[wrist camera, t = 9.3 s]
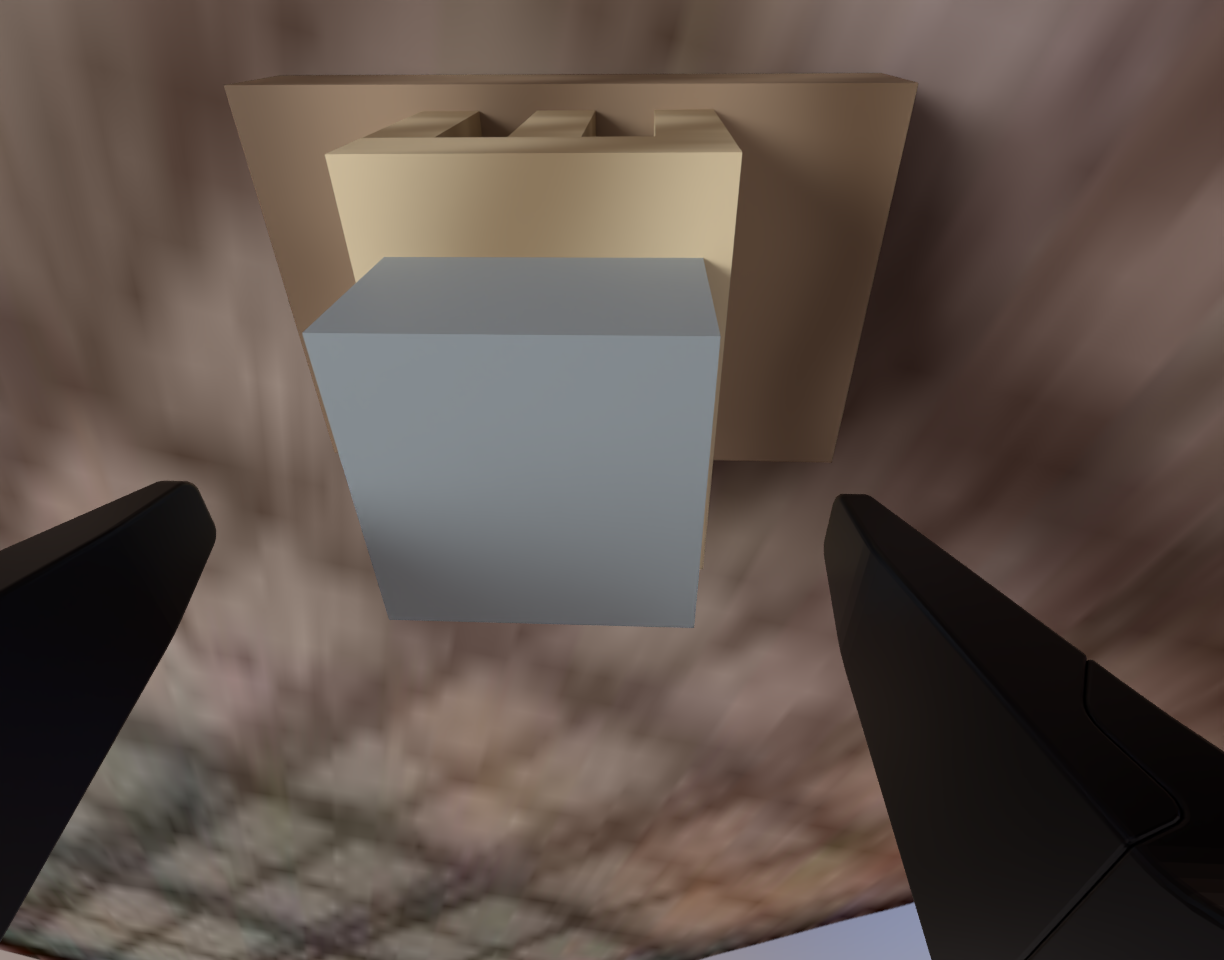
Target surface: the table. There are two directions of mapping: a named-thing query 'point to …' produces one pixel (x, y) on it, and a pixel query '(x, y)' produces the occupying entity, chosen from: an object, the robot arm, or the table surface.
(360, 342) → the block
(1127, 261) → the table surface
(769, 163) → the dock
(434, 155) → the block
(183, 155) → the table surface
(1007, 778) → the robot arm
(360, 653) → the table surface
